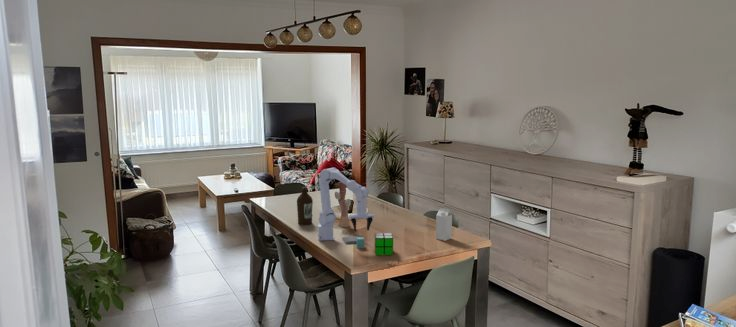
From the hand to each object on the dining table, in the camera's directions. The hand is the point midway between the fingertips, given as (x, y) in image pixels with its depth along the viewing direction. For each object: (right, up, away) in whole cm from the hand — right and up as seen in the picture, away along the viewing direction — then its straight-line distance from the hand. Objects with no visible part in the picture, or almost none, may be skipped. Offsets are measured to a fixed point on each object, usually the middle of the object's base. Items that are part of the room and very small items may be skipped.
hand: (361, 230), depth 307 cm
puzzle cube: (+13, -12, -9) cm, 19 cm away
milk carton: (+50, -7, +17) cm, 54 cm away
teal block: (-1, -10, 0) cm, 10 cm away
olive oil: (-39, -2, +50) cm, 64 cm away
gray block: (-6, -8, +11) cm, 15 cm away
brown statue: (-13, -3, +45) cm, 47 cm away
